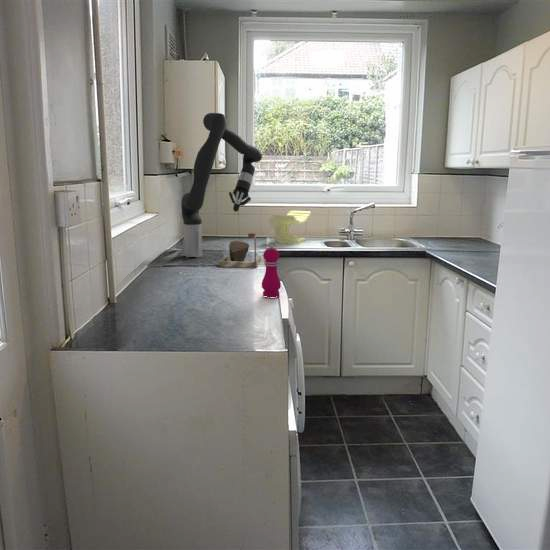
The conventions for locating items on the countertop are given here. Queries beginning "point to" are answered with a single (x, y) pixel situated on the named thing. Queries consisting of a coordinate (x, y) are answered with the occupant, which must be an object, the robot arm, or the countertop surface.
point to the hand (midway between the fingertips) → (235, 211)
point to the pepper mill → (271, 273)
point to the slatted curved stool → (284, 222)
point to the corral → (227, 263)
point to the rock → (238, 250)
